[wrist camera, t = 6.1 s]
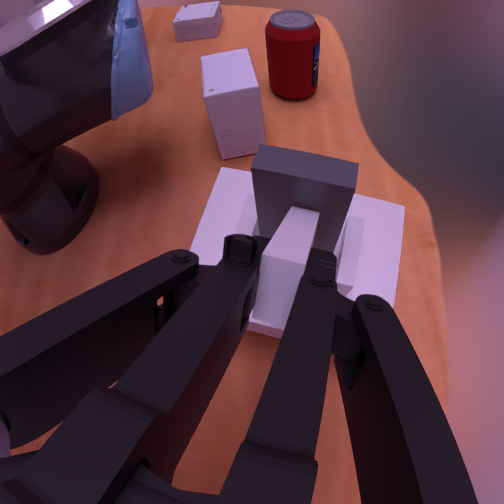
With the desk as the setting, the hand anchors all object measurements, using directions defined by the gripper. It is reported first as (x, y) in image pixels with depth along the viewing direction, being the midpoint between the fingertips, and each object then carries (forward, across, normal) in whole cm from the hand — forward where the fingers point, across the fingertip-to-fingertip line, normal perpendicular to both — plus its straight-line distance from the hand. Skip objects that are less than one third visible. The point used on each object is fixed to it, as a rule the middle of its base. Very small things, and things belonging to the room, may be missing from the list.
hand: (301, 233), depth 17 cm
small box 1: (+42, -28, +22) cm, 55 cm away
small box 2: (+23, -11, +3) cm, 26 cm away
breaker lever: (+5, 0, -3) cm, 6 cm away
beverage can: (+31, -6, +10) cm, 33 cm away
